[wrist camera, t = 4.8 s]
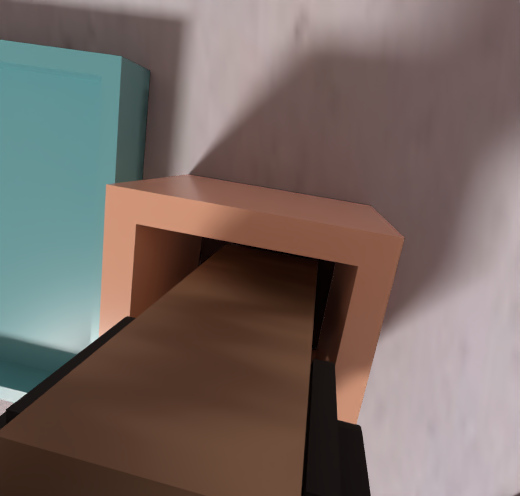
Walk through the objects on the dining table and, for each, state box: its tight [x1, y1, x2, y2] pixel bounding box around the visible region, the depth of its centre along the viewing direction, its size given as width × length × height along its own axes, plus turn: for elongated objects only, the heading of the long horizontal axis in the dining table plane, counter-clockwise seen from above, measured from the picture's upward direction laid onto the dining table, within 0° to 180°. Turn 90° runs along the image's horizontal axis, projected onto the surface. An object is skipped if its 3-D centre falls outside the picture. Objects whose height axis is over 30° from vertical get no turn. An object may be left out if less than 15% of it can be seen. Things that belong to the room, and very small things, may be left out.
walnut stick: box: [0, 243, 318, 496], centre depth 11 cm, size 4×4×12 cm
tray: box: [0, 40, 150, 403], centre depth 18 cm, size 13×17×2 cm
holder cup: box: [99, 174, 405, 424], centre depth 15 cm, size 8×8×7 cm
